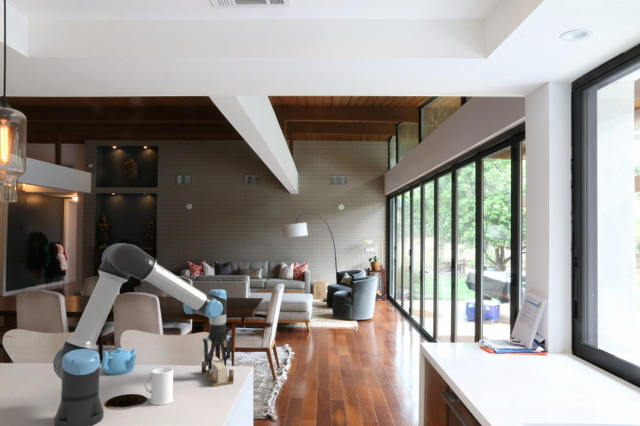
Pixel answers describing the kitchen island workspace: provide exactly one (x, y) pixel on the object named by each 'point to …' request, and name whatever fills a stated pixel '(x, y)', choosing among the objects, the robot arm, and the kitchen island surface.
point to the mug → (161, 386)
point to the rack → (212, 377)
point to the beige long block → (219, 370)
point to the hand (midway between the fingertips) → (217, 375)
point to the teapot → (118, 361)
